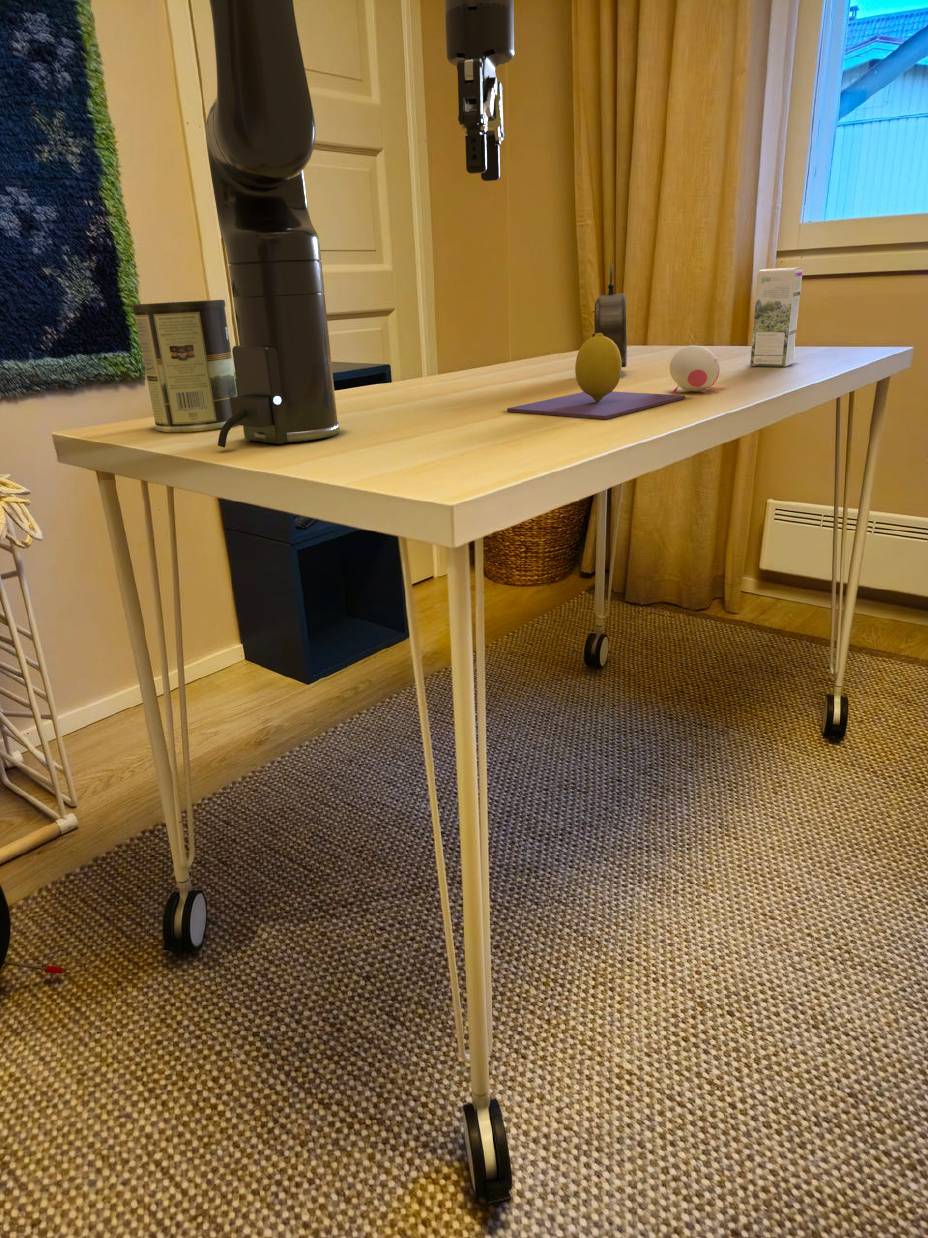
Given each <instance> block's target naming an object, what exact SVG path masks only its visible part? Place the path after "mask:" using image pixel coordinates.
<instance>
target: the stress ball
mask: <svg viewBox="0 0 928 1238" xmlns="http://www.w3.org/2000/svg"><path fill="white" fill-rule="evenodd" d="M669 363H670V364H669V373H670V376H671V379H672V380H673V382H674V383H675V384H676V385H677V386H676V388H674V389H673V390H672V393H673V394H676V393H677V391H678V390H677V389H678V388H679V387H680V388H681V389H683V390H685V391H687V392H695V393H696V392H703V391H706V390H707V389H718V388H721V387H719V386H714V387H712V386H713V385H715V383H716V382H717V380H718V378H719V375H720V363H719V360H718V358H717V356H716V355H715V354H714V353H713V352H712V351H711V350H709V349H708V348H706V347H705V346H701V345H687V346H684V347H682V348H680V349H678V351H676V352H675V353H674V355H673V356H672V358H671V360H670V362H669Z"/></svg>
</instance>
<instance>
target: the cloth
mask: <svg viewBox="0 0 928 1238" xmlns="http://www.w3.org/2000/svg"><path fill="white" fill-rule="evenodd" d="M685 399H686V395H685V394H684V395H683V394H665V393H647V392H632V391H631V392H630V391H629V392H628V391H614V390H613V391H612V392H610V393H609V394H607V395H605V396H604V397H603V399H602V400H601V401H598V402H597V401H595V400H594V399H593V398H592V397H591V396H590V395H588V394H586V393H585V392H583V391H581V392H576V393H571V394H567V395H562V396H557V397H553V398H549V399H543V400H540V401H535V402H530V403H526V404H521V405H517V406H512V407H507V409H506V412H508V413H520V414H521V413H522V414H531V415H532V414H533V415H546V416H557V417H572V418H581V419H582V418H583V419H594V420H610V419H614V418H616V417H620V416H624V415H628V414H632V413H635V412H639V411H643V410H647V409H651V408H655V407H658V406H662V405H666V404H670V403H674V402H678V401H681V400H685Z"/></svg>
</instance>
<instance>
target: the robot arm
mask: <svg viewBox="0 0 928 1238" xmlns="http://www.w3.org/2000/svg"><path fill="white" fill-rule="evenodd" d="M514 3H515V2H514V0H444V17H445V19H444V20H445V43H446V45H445V46H446V59H447V61H448V62H449V64H451V65H452V66H455V67H456V71H457V100H458V102H457V103H458V104H457V105H458V115H457V116H458V117H457V120H458V124H459V126H461V131H462V133H463V135H465V136H464V139H465V140H464V141H465V142H464V143H465V167H466V172H467V173H468V174H471V175H475V174H480V178H481V180H482V181H483V182H495V181H496V182H497V181H499V180H500V178H501V163H500V161H501V160H500V146H501V144H502V141H504V138H505V132H504V111H503V109H504V108H503V105H504V104H503V92H504V87H503V85H502V82H501V81H498V78H497V73H496V69H497V67H498V66H499V65H504V64H507V63H509V62H510V61H511V60H513V58H514V56H515V11H514V9H515V8H514V7H515V6H514ZM209 6H210V13H211V21H212V29H213V39H214V42H213V43H214V51H215V53H214V54H215V67H216V69H215V70H216V98H215V99H214V100H213V103H212V104H211V106H210V108H209V111H208V112H207V113H208V114H207V117H206V123H205V141H206V149H207V151H206V152H207V158H208V164H209V170H210V171H209V172H210V177H211V184H212V190H213V196H214V202H215V208H216V209H215V210H216V214H217V221H218V227H219V231H220V234H221V237H222V240H223V243H224V246H225V252H226V258H227V265H228V272H229V278H230V286H231V292H232V300H233V308H234V314H235V323H236V329H237V336H238V343H239V344H238V345H234V346H233V347H232V349H231V354H232V361H233V368H234V375H235V382H236V389H237V396H236V397H230V403H231V410H232V417H231V418H230V419H229V420H227V422H226V423H225V424H224V425H223V427H222V428H220V429H221V430H220V432H219V434H218V440H217V446H218V447H220V448H226V445H227V439H228V434H229V433H230V431H231V429H232V428H233V427H234V426H242V430H243V436H244V440H249V441H254V442H255V441H256V442H262V443H269V444H275V445H279V444H285V443H286V444H287V443H294V442H295V443H296V442H306V441H314V440H320V439H325V438H329V437H333V436H335V435H337V434H339V433H340V423H339V421H338V414H337V403H336V393H335V386H334V385H335V384H334V383H335V382H334V374H333V363H332V354H331V353H332V352H331V344H330V343H331V342H330V333H329V325H328V323H329V322H328V316H327V315H328V314H327V305H326V294H325V284H324V275H323V273H324V272H323V265H322V253H321V245H320V238H319V235H318V233H317V231H316V229H315V228H314V226H313V222H312V220H311V217H310V212H309V206H308V200H307V192H306V184H305V176H304V170H305V169H306V167H307V165H308V163H309V162H310V160H311V158H312V155H313V152H314V149H315V143H316V134H317V133H316V122H315V113H314V107H313V103H312V98H311V93H310V89H309V88H310V87H309V83H308V78H307V74H306V69H305V63H304V57H303V52H302V47H301V41H300V37H299V31H298V26H297V20H296V19H297V18H296V13H295V4H294V0H209ZM488 128H493V129H490V130H488Z"/></svg>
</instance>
